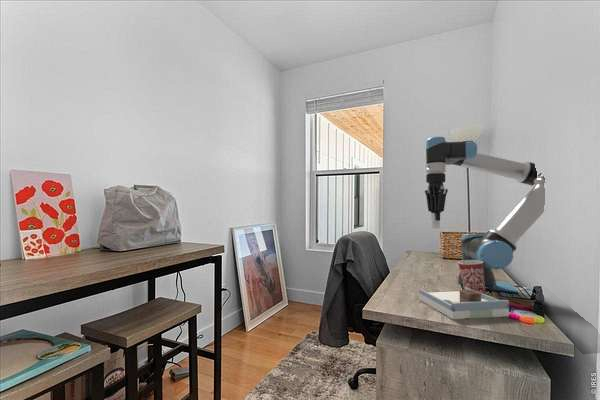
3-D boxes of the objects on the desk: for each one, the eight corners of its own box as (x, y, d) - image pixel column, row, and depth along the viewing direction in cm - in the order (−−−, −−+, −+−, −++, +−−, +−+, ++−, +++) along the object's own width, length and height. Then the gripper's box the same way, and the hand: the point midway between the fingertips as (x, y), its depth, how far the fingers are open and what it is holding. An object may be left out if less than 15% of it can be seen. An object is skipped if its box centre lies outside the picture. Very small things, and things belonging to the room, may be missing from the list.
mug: (490, 298, 112) (485, 263, 113) (464, 298, 115) (459, 264, 116) (484, 290, 124) (479, 258, 124) (460, 290, 127) (455, 259, 128)
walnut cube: (471, 302, 102) (471, 289, 102) (481, 307, 97) (481, 293, 97) (459, 303, 101) (459, 290, 101) (468, 307, 97) (468, 294, 97)
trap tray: (466, 297, 116) (466, 284, 116) (509, 316, 96) (508, 300, 96) (419, 299, 113) (419, 286, 113) (452, 319, 93) (452, 303, 93)
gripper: (419, 174, 132) (419, 227, 132) (436, 171, 119) (437, 229, 119) (434, 175, 133) (434, 227, 133) (453, 172, 120) (454, 229, 120)
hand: (435, 228), depth 126 cm, fingers closed
